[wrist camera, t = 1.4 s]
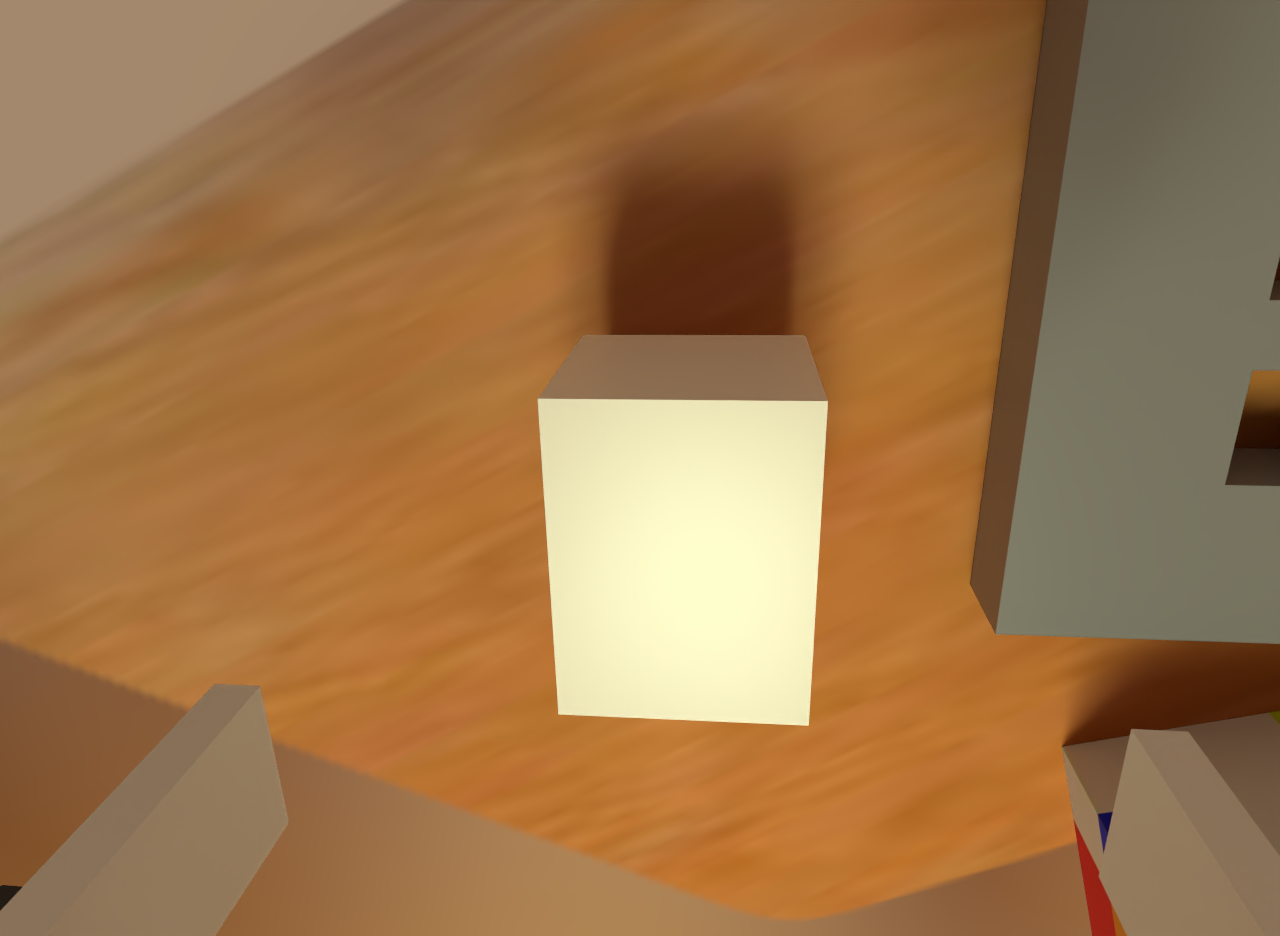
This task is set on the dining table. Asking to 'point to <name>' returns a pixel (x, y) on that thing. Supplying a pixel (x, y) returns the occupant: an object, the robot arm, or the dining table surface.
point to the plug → (684, 525)
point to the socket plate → (1140, 332)
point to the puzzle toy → (1238, 749)
